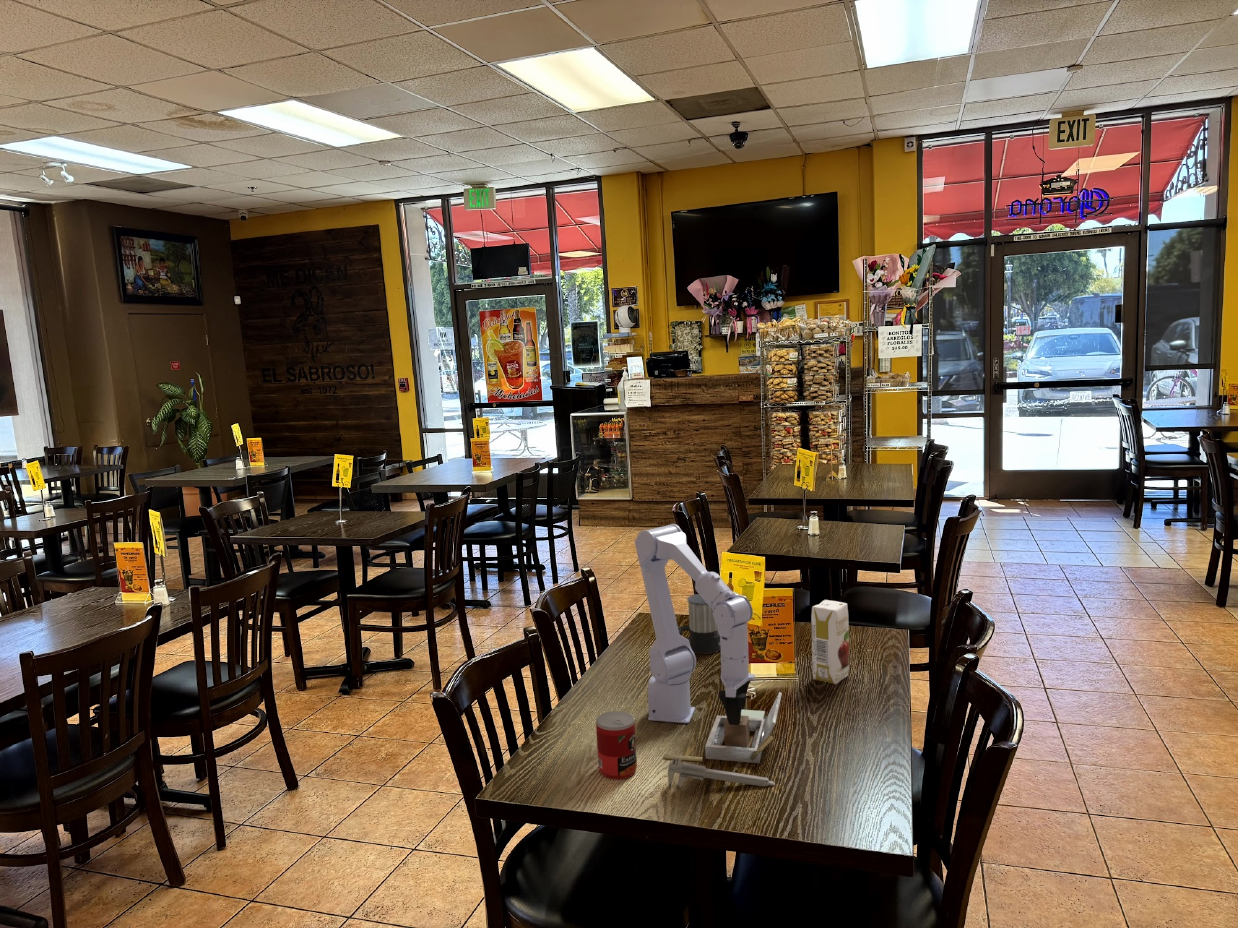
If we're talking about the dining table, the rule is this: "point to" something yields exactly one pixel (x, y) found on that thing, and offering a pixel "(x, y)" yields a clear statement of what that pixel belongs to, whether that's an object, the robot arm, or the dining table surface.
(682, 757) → the brass bar
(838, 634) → the juice carton
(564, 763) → the dining table surface
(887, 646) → the dining table surface
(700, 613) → the milk frother
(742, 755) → the aluminium case
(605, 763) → the canned food
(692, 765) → the caliper
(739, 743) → the walnut block
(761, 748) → the propped lid
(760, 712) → the green rubber mat
